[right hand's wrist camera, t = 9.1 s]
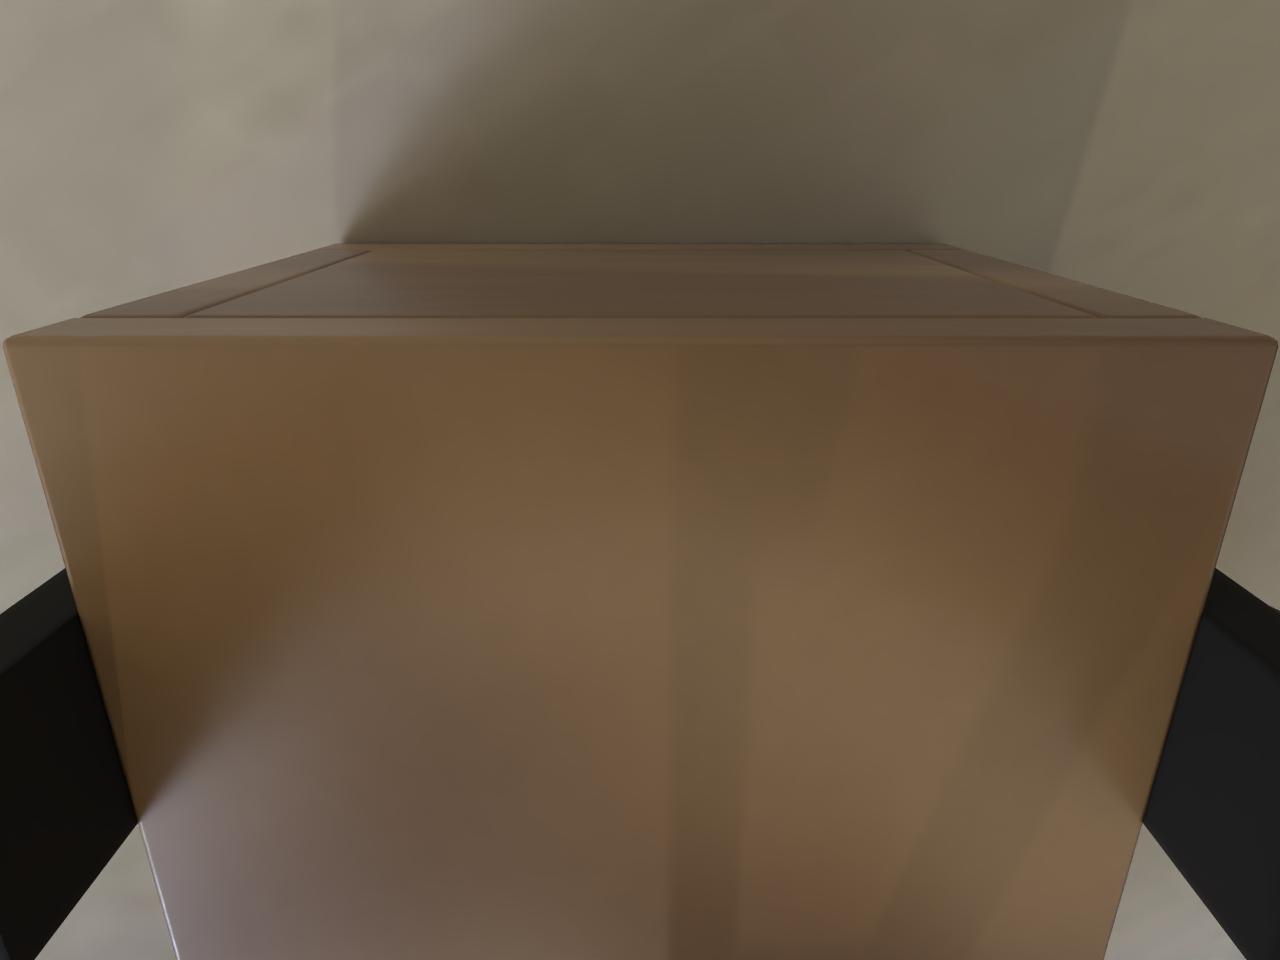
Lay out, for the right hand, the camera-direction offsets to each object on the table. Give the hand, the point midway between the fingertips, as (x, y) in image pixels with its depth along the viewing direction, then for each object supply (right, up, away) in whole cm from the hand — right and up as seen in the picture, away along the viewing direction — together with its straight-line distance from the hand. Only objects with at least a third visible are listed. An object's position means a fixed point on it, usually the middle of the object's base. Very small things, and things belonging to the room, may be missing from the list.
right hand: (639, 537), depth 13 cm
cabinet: (0, -3, +5) cm, 6 cm away
